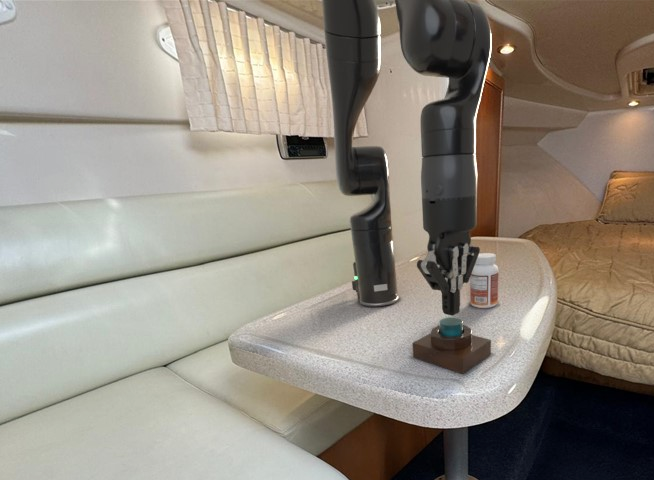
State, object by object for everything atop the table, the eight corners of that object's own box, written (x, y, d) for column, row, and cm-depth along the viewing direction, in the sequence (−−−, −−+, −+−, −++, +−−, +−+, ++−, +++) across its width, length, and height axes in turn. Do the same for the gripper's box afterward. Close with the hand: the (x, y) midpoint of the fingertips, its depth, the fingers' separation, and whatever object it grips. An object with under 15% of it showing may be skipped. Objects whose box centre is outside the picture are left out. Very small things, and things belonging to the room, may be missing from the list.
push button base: (413, 357, 60) (411, 332, 58) (442, 341, 66) (441, 317, 64) (463, 374, 54) (462, 347, 52) (490, 354, 60) (491, 329, 58)
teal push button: (435, 334, 58) (435, 322, 57) (448, 327, 61) (448, 316, 60) (453, 339, 56) (453, 327, 55) (466, 332, 58) (466, 320, 58)
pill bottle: (490, 298, 86) (492, 251, 81) (502, 306, 81) (504, 256, 76) (466, 302, 85) (466, 254, 80) (476, 310, 80) (476, 259, 75)
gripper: (454, 190, 56) (455, 298, 64) (395, 197, 47) (405, 322, 55) (498, 190, 52) (493, 305, 59) (441, 197, 43) (445, 332, 50)
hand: (451, 313), depth 57 cm, fingers closed
